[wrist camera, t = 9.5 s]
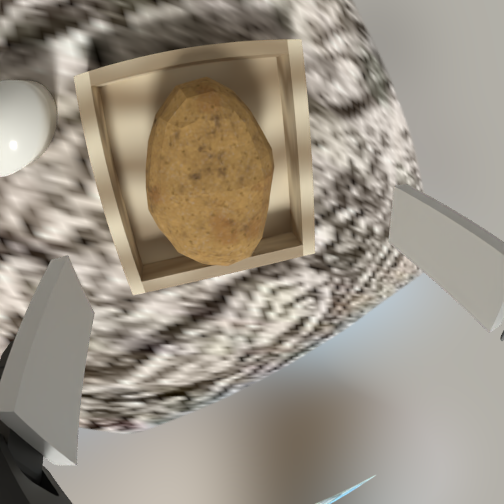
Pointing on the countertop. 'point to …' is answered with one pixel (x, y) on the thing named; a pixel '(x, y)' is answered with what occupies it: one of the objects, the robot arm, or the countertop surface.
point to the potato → (208, 173)
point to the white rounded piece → (24, 123)
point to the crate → (136, 143)
